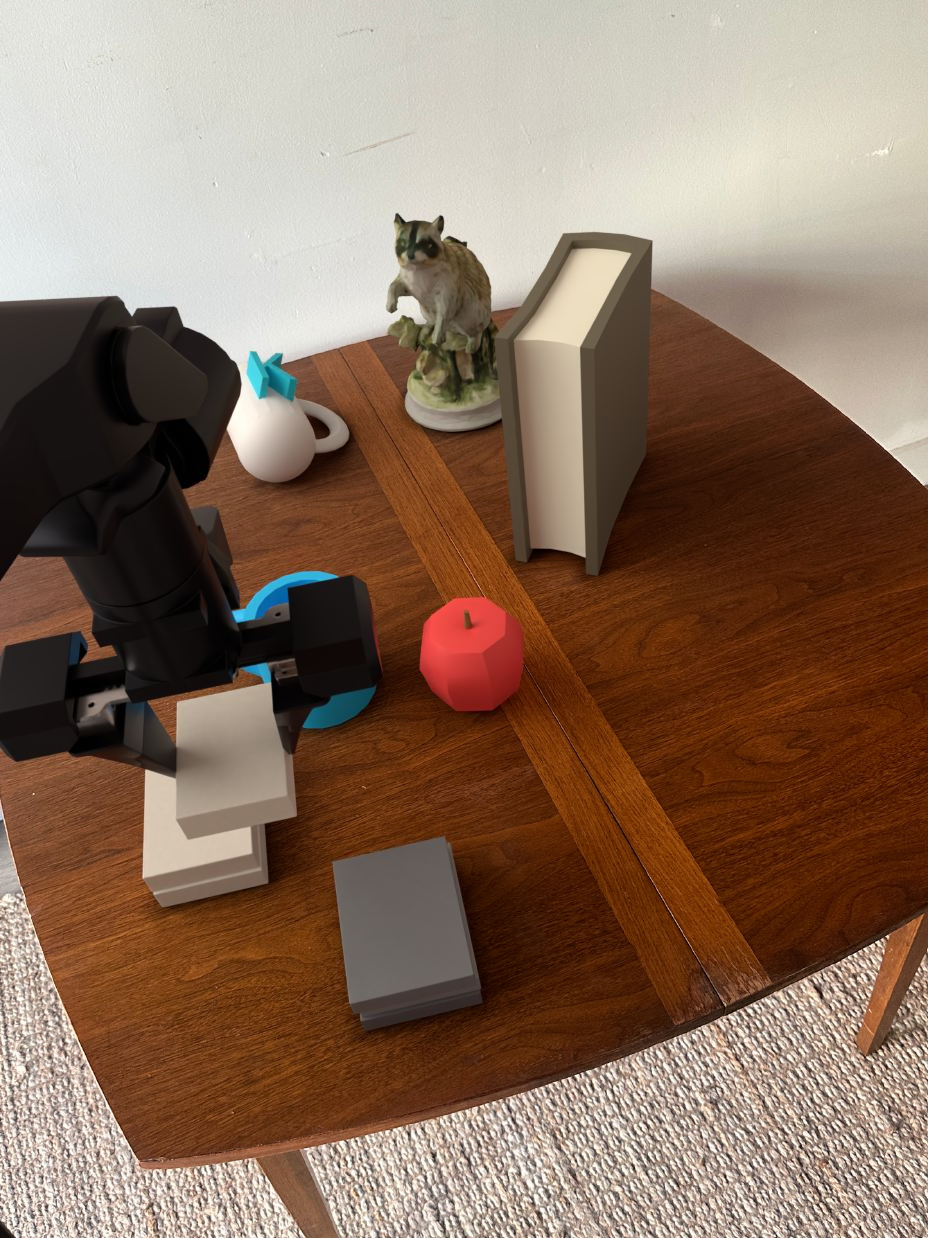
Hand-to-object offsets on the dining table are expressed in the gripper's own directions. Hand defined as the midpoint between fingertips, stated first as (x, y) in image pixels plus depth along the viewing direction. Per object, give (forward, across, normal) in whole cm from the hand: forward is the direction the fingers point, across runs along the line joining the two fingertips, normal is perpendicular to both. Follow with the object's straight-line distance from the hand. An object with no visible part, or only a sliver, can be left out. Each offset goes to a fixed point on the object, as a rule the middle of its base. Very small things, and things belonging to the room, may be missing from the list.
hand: (236, 759), depth 57 cm
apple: (+14, -15, -12) cm, 24 cm away
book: (+14, -28, -30) cm, 43 cm away
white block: (+1, 0, 0) cm, 1 cm away
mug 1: (+14, -3, -45) cm, 47 cm away
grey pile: (+13, -7, +7) cm, 16 cm away
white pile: (+13, +5, -4) cm, 15 cm away
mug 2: (+14, -2, -16) cm, 21 cm away
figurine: (+14, -20, -48) cm, 54 cm away
